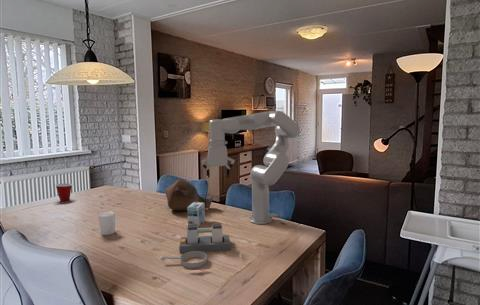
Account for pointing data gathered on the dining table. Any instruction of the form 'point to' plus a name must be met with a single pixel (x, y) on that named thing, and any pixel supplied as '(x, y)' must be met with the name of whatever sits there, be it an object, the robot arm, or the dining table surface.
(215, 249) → the strip
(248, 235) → the dining table surface
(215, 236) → the plug
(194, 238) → the light grey peg
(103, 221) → the white cup
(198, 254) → the saucepan
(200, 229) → the tray
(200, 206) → the light bulb box
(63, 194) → the plastic cup
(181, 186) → the jug
